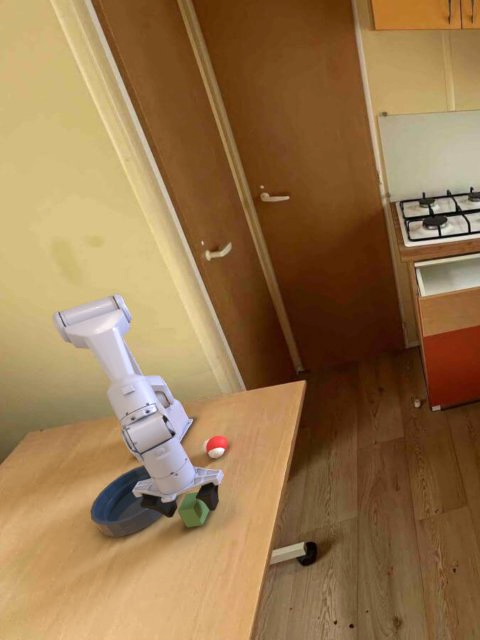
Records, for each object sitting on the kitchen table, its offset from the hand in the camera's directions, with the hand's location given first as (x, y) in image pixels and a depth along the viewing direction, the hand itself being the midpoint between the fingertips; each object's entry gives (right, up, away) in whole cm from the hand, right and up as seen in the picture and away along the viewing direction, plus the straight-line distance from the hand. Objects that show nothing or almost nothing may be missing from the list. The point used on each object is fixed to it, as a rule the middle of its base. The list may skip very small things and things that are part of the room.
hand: (194, 509), depth 85 cm
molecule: (-6, +4, +15) cm, 17 cm away
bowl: (-14, -1, +4) cm, 14 cm away
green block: (0, -3, +1) cm, 3 cm away
